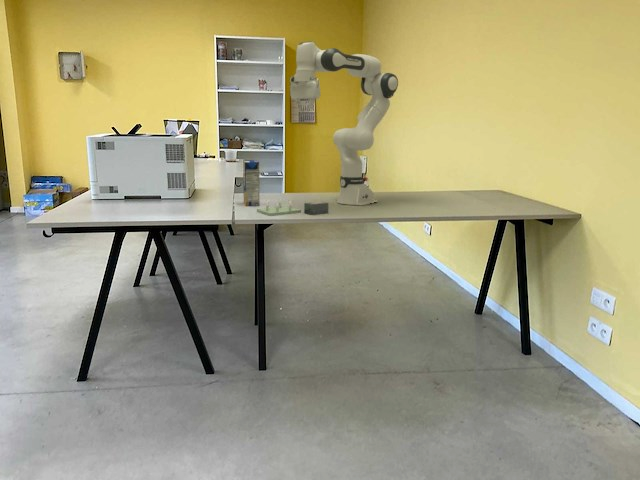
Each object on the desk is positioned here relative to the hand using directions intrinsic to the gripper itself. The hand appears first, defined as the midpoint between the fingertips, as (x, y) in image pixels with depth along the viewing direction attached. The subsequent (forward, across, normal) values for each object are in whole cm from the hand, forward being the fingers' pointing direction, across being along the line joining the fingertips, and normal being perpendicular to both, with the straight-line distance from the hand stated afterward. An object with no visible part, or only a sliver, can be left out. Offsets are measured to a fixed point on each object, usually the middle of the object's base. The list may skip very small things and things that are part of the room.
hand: (304, 108), depth 229 cm
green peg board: (+48, -3, +16) cm, 51 cm away
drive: (+48, -14, +2) cm, 50 cm away
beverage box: (+48, +22, +17) cm, 56 cm away
